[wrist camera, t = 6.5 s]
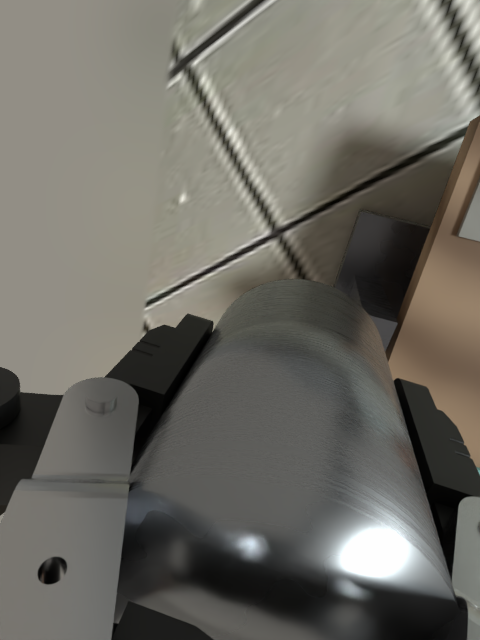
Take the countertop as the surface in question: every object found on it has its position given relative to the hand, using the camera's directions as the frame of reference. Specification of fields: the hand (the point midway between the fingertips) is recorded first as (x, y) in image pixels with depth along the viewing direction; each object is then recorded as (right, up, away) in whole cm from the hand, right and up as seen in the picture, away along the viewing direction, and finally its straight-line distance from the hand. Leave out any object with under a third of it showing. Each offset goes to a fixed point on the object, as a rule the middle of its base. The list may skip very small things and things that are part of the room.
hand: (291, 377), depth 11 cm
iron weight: (0, 0, +1) cm, 1 cm away
